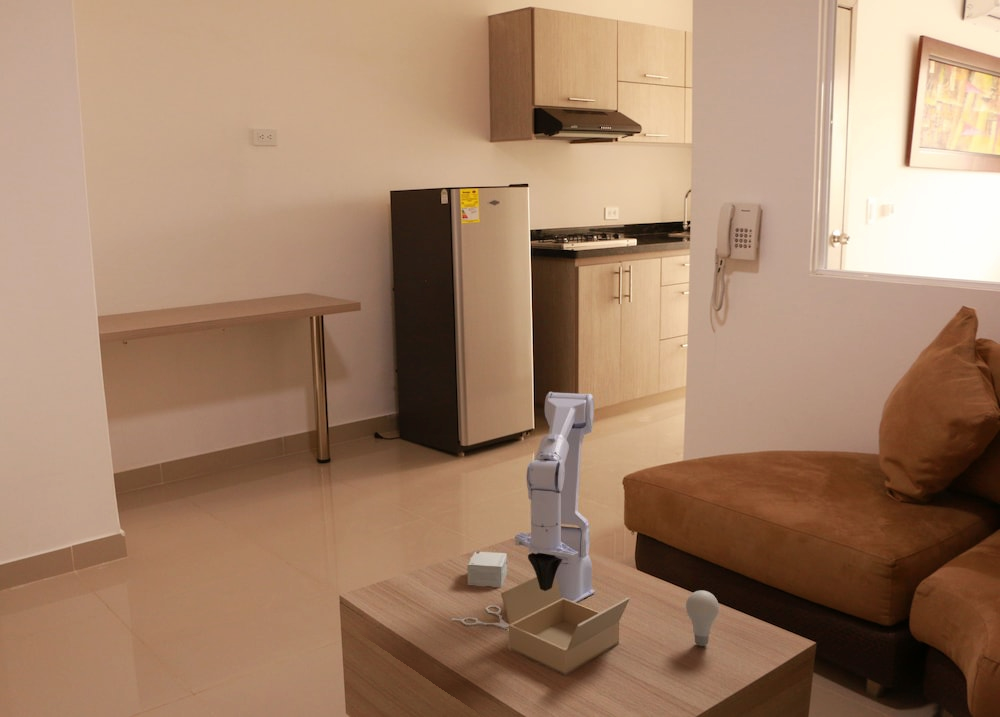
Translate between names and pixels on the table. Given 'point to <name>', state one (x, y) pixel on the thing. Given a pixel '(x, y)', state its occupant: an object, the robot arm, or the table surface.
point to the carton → (559, 637)
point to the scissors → (501, 624)
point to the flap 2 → (598, 623)
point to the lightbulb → (702, 614)
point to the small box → (487, 569)
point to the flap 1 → (528, 598)
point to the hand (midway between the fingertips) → (546, 588)
